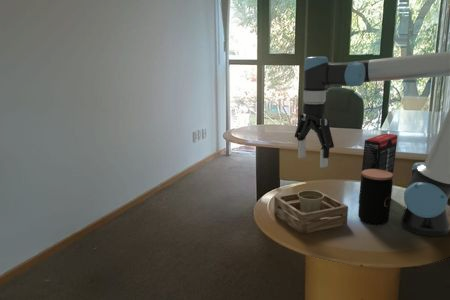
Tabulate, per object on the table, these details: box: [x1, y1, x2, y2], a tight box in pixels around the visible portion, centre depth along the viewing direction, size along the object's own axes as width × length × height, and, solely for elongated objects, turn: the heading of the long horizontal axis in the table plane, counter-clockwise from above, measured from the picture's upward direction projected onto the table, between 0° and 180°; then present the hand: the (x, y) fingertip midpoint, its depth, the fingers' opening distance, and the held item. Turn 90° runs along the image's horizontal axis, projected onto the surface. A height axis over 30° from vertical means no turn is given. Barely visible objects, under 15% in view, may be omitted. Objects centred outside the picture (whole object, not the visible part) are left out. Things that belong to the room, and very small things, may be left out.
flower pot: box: [297, 189, 324, 213], centre depth 145 cm, size 9×9×9 cm
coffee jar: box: [357, 169, 394, 226], centre depth 143 cm, size 11×11×18 cm
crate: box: [273, 189, 349, 235], centre depth 146 cm, size 19×19×7 cm
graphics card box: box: [358, 133, 399, 199], centre depth 160 cm, size 17×7×27 cm, turn 136°
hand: (312, 162), depth 141 cm, fingers open, 13 cm apart
